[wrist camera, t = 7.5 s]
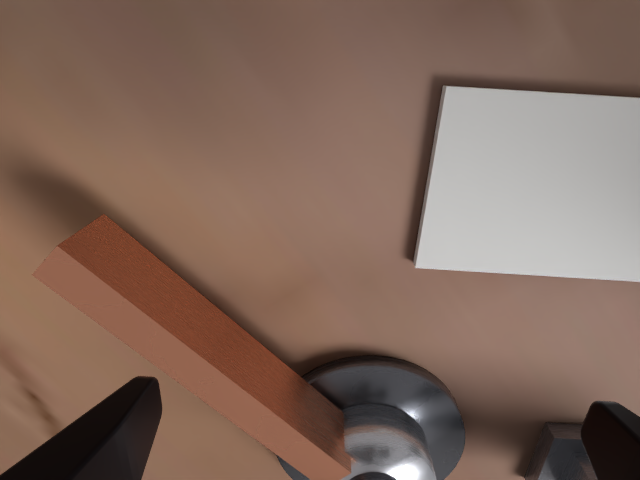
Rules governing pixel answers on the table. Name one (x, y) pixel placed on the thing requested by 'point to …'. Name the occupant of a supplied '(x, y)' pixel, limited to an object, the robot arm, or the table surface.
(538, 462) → the grey stepped block
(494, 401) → the table surface
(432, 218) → the mat
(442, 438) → the chuck base
